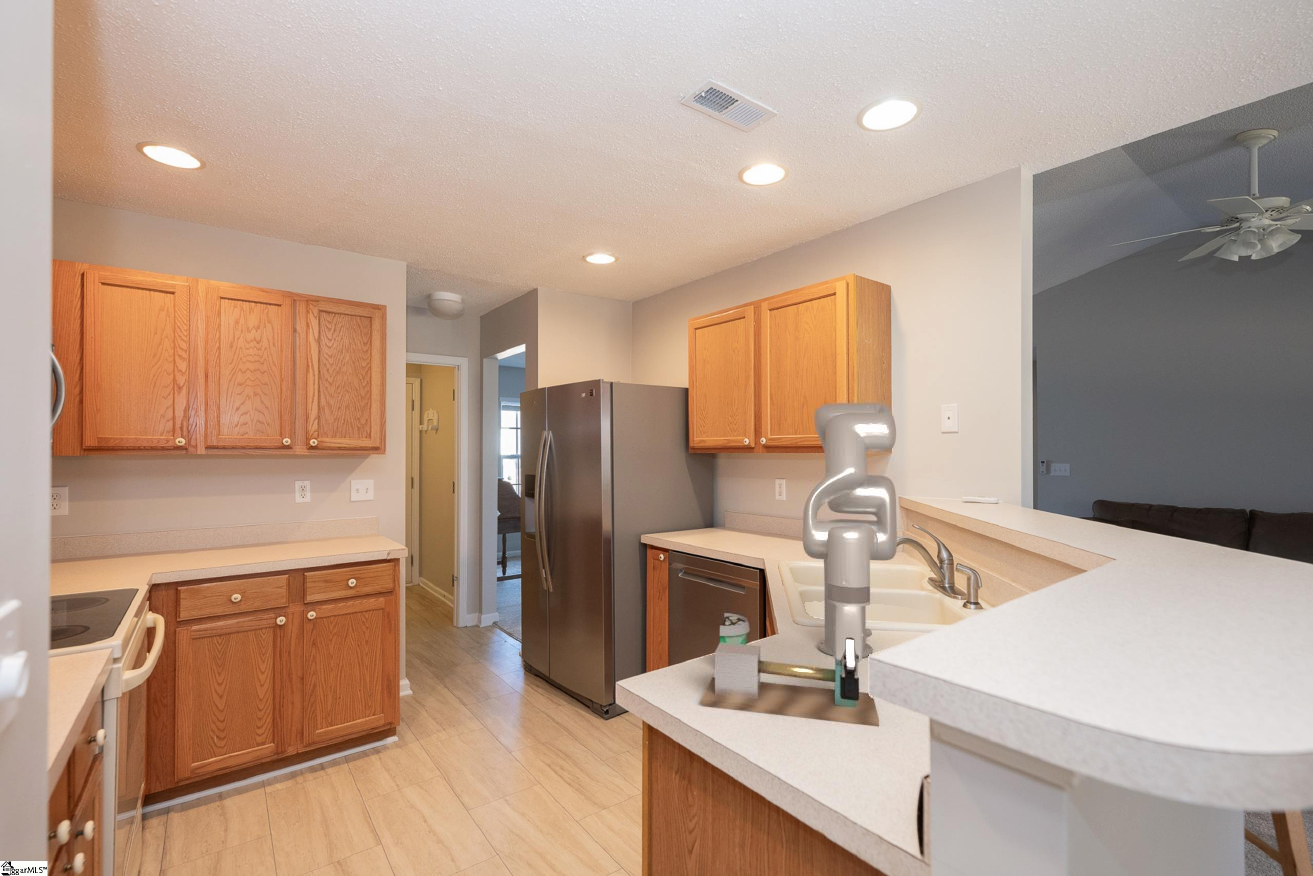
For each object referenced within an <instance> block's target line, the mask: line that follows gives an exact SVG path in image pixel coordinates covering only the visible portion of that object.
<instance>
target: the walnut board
mask: <svg viewBox="0 0 1313 876" xmlns="http://www.w3.org/2000/svg"><path fill="white" fill-rule="evenodd" d="M868 693H869V692H863V691H859V700H858V701H856V708H854V707H847V706H840V705H835V699H834V694H835V688H834V689H833V688H832V689H831V688H825V687H824V688H823V687H815V686H814V687H813V686H806V685H805V686H804V685H796V684H795V685H794V684H787V683H786V684H785V683H776V682H764V681H760V691H759V695H758V699H753V698H744V697H735V696H725V695H716V694H715V676H712V677H711V679H710V681H709V684H708V685H707V687H706V689H705V691H704V693H703V696H702V698H701V706H702V707H708V708H709V707H710V708H717V709H724V710H725V709H728V710H736V711H744V712H752V713H760V714H768V715H769V714H770V715H778V716H786V717H787V716H788V717H796V718H804V719H813V720H821V721H828V722H829V721H831V722H839V723H848V724H855V725H862V726H863V725H864V726H873V727H880V719H879V714H878V709H877V707H876V702H875V699H873V698H874V697H873V698H871V697H870V696H869V694H868Z"/></svg>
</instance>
